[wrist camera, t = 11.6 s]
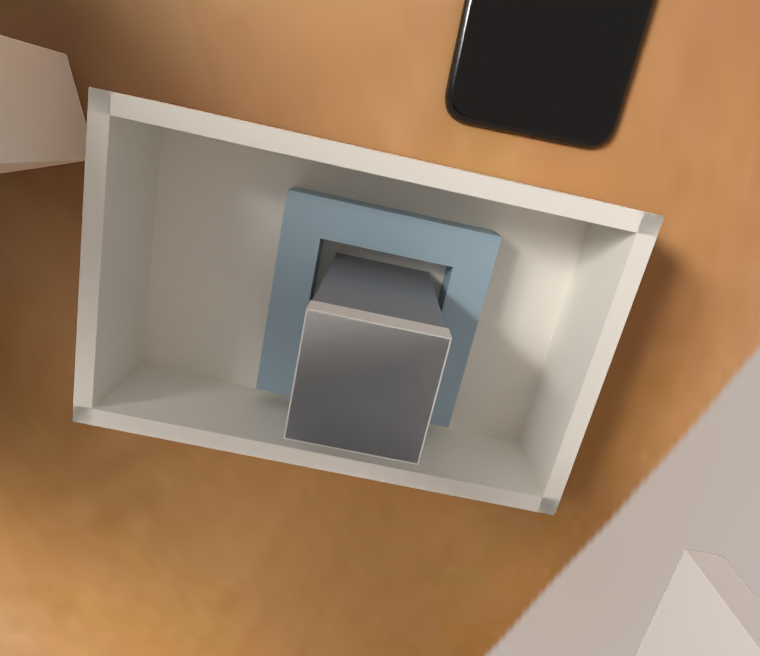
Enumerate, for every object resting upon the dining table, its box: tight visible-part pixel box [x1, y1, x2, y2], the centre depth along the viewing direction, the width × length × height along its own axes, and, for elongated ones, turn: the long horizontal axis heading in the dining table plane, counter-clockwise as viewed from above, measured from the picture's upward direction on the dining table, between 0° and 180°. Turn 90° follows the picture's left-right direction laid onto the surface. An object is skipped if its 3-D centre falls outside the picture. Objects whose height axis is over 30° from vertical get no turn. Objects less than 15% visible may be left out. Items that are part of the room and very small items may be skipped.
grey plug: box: [283, 253, 452, 465], centre depth 23 cm, size 5×5×10 cm
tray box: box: [72, 87, 665, 515], centre depth 25 cm, size 22×14×6 cm, turn 78°
